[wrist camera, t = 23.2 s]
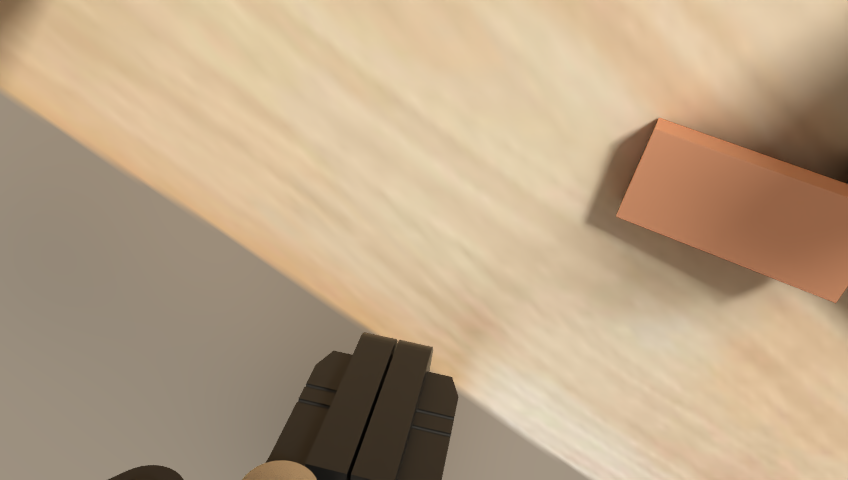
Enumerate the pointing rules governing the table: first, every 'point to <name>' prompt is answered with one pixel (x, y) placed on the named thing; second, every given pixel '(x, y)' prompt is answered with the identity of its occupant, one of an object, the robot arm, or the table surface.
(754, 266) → the domino
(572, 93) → the table surface
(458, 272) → the table surface
